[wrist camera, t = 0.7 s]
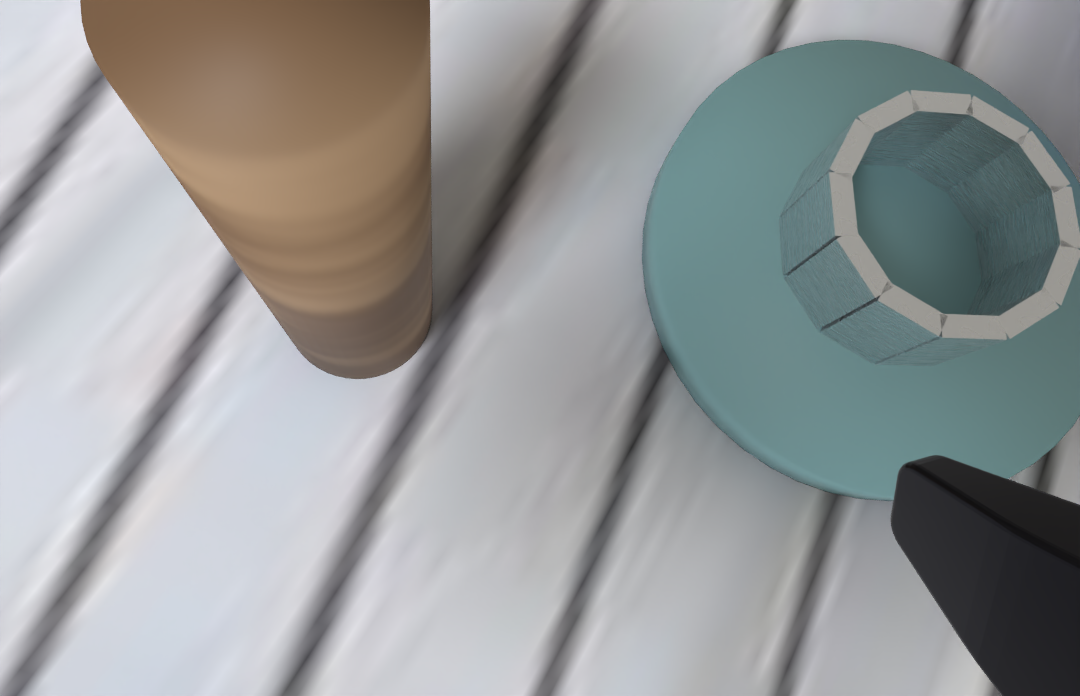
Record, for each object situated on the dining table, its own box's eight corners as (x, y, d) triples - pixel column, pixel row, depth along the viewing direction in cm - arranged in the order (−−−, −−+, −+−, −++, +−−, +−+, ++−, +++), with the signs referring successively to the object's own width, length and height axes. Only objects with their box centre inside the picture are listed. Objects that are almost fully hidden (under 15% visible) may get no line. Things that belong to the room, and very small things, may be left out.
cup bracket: (1156, 359, 25) (1308, 320, 20) (810, 595, 22) (905, 608, 17) (905, 7, 27) (996, -96, 22) (556, 175, 24) (583, 93, 19)
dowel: (457, 336, 22) (488, 68, 10) (326, 404, 21) (170, 206, 9) (390, 218, 23) (337, -182, 10) (260, 279, 22) (23, -77, 9)
